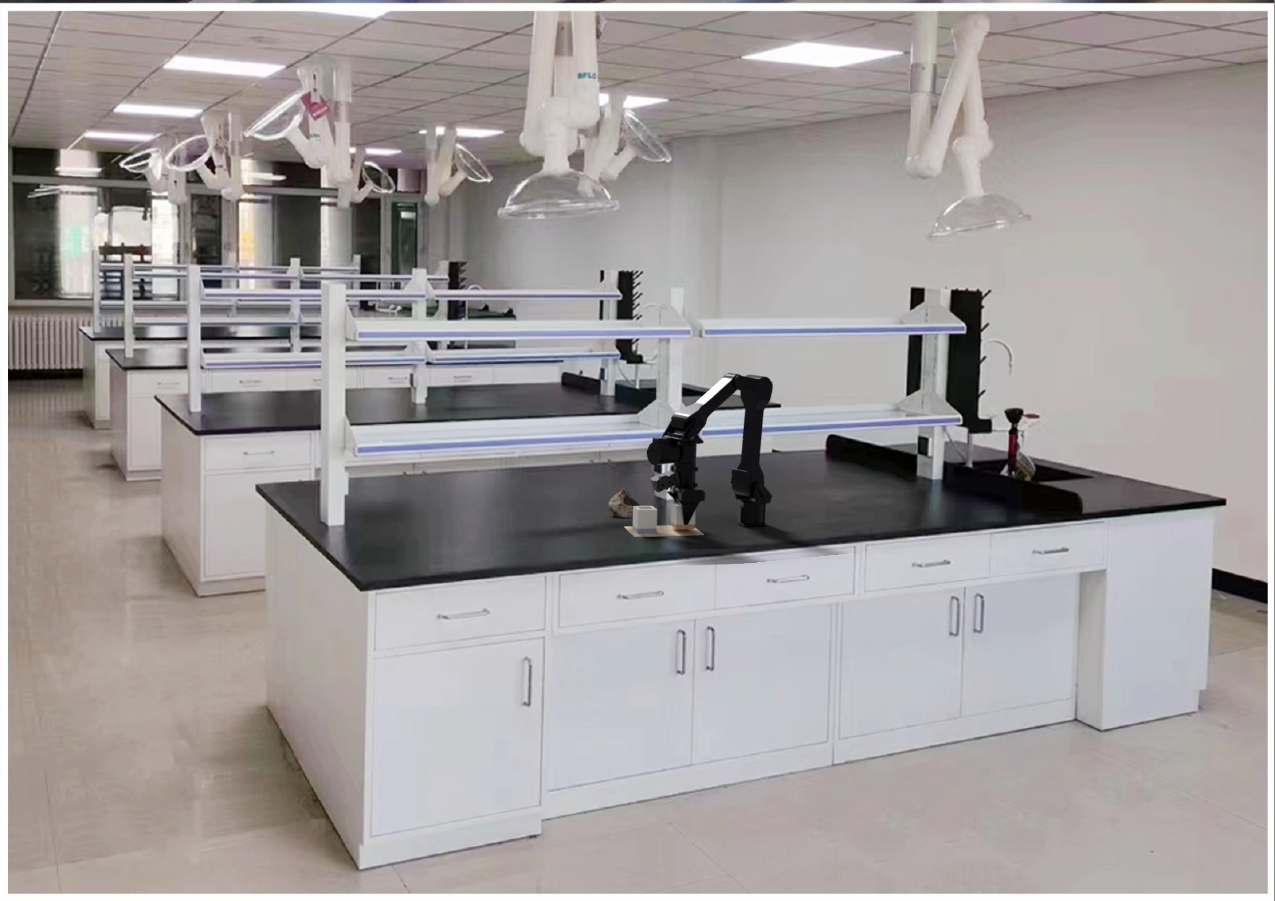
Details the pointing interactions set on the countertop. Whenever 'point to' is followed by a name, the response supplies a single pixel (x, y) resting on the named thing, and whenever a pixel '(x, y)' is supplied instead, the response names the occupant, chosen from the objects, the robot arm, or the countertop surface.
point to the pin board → (666, 532)
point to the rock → (622, 504)
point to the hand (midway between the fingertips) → (683, 522)
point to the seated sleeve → (644, 519)
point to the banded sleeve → (680, 517)
